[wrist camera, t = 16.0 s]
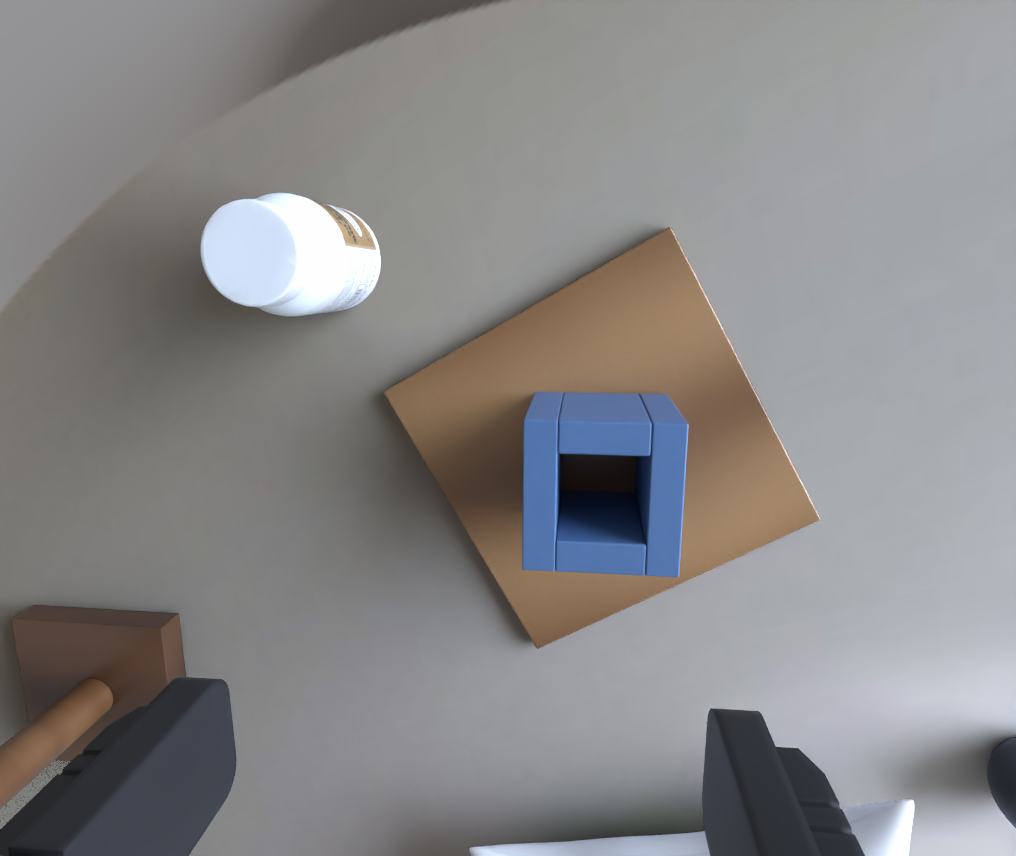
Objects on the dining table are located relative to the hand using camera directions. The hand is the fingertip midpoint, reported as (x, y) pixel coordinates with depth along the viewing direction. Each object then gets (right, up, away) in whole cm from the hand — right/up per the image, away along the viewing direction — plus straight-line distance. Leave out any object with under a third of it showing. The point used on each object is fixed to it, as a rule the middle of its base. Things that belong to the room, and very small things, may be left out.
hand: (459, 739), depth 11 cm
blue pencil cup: (+5, +4, +18) cm, 19 cm away
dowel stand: (-20, -8, +24) cm, 32 cm away
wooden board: (+5, +4, +19) cm, 20 cm away
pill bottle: (-7, +12, +19) cm, 23 cm away
